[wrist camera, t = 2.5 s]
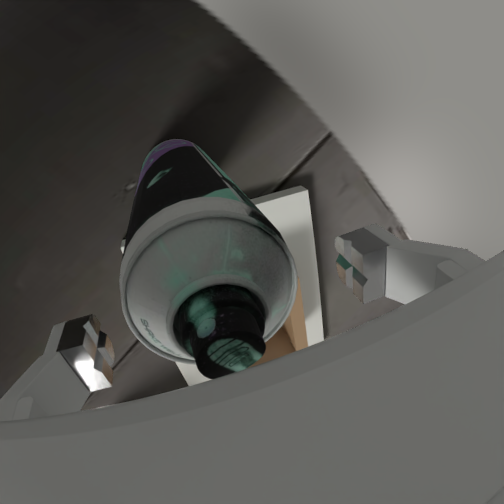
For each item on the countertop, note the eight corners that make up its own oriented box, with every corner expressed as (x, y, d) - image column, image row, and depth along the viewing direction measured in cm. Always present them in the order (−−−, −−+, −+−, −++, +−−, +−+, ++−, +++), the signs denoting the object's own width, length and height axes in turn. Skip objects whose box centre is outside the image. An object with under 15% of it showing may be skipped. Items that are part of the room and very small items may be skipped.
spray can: (155, 129, 22) (142, 215, 5) (220, 151, 24) (377, 283, 7) (132, 195, 24) (99, 412, 7) (196, 213, 26) (280, 426, 9)
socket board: (122, 240, 25) (115, 272, 21) (300, 185, 28) (330, 204, 23) (193, 387, 35) (201, 424, 30) (319, 343, 37) (339, 374, 33)
